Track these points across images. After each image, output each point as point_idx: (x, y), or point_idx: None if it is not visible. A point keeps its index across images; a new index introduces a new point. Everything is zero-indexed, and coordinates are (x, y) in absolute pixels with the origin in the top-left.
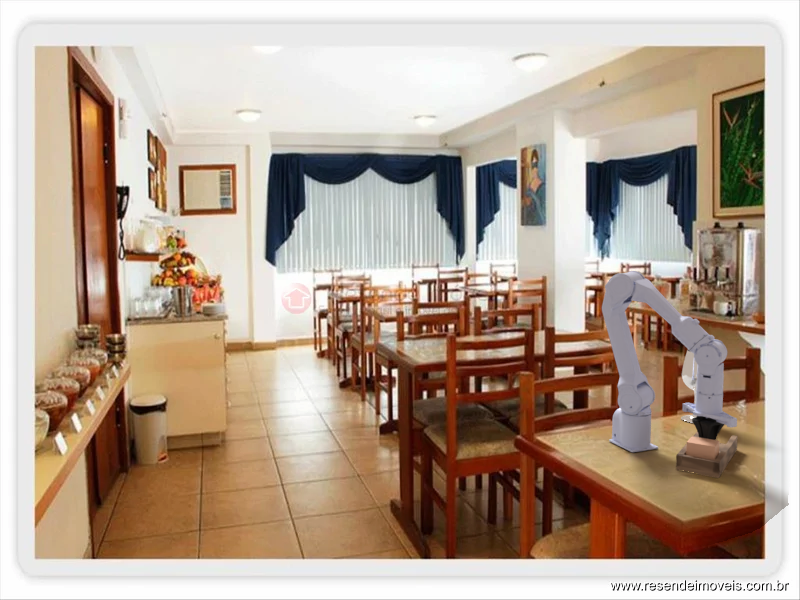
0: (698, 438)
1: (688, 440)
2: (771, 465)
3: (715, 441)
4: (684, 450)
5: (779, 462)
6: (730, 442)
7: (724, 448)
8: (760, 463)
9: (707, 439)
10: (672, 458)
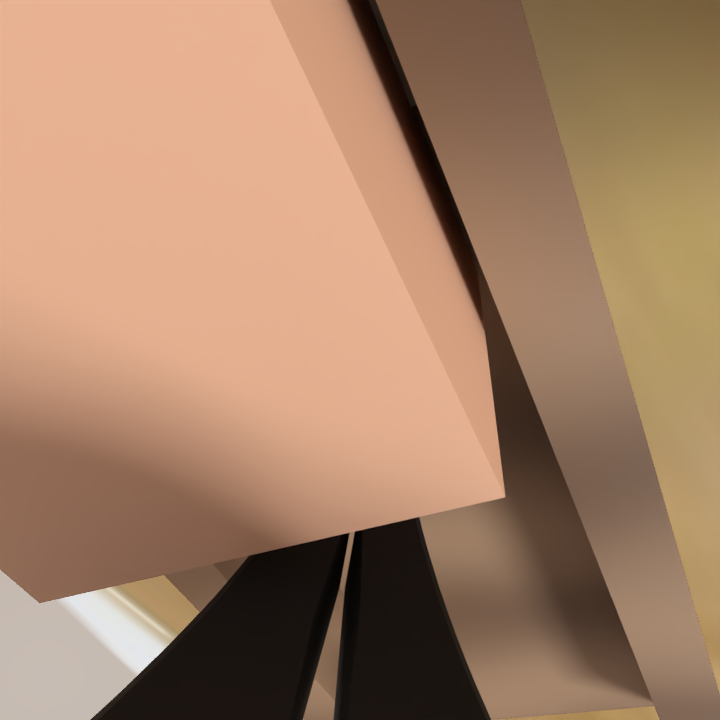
0: (292, 467)
1: (287, 77)
2: (101, 611)
3: (16, 539)
4: (434, 25)
5: (131, 665)
6: (319, 715)
7: (209, 576)
8: (152, 601)
9: (159, 534)
10: (716, 125)
